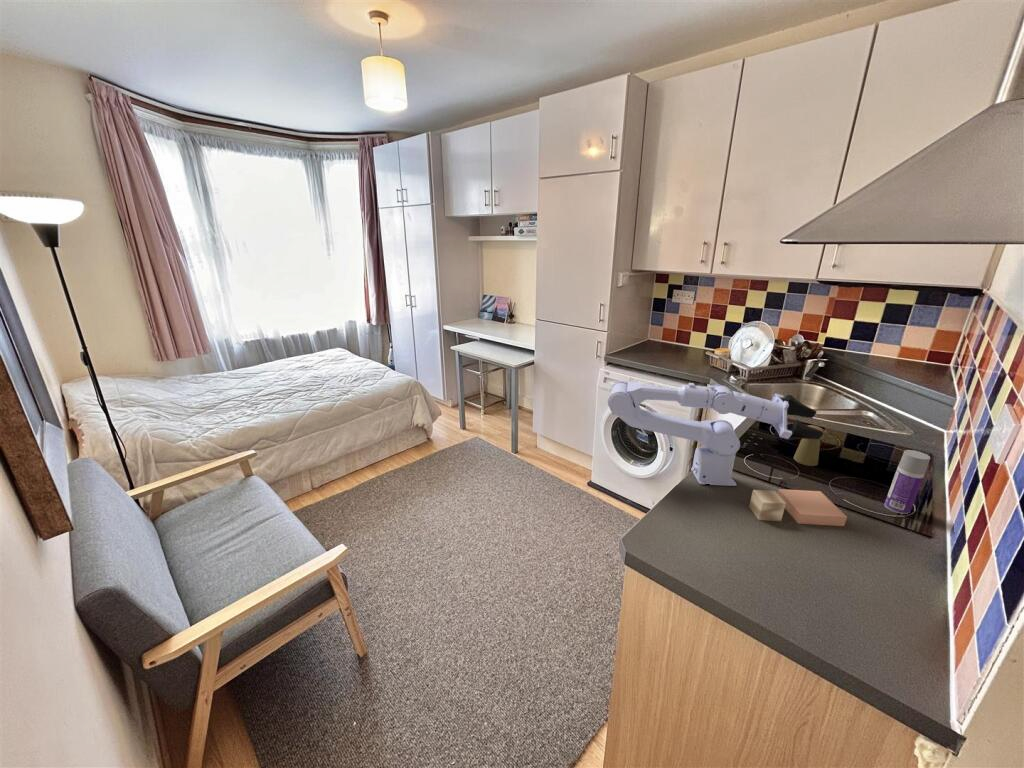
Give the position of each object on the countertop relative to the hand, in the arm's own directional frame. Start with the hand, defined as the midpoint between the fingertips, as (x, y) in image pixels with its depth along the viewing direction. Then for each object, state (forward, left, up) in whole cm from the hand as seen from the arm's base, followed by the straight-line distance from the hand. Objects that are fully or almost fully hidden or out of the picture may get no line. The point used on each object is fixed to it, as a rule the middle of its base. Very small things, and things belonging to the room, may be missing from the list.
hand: (817, 424), depth 101 cm
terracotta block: (-3, -9, -19) cm, 22 cm away
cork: (+10, +16, -19) cm, 27 cm away
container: (+19, -6, -19) cm, 28 cm away
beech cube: (-14, -11, -19) cm, 26 cm away
